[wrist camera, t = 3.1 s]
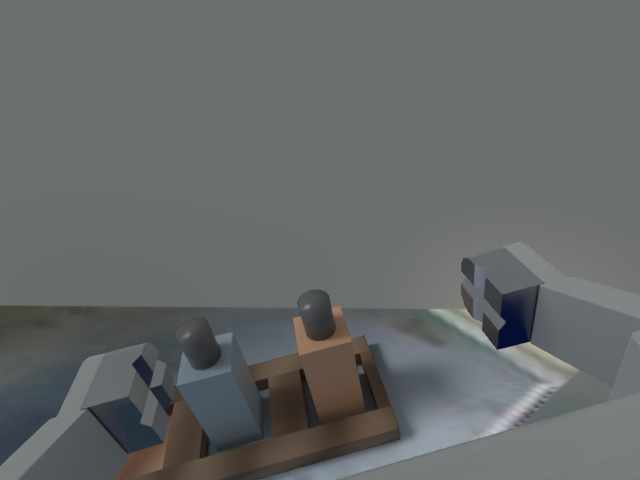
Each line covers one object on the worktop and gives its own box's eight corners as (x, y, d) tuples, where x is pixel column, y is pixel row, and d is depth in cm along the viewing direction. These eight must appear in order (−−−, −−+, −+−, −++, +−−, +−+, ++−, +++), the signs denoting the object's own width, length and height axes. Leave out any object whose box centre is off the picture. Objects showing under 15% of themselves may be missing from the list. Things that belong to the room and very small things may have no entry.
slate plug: (217, 451, 31) (158, 358, 25) (220, 409, 35) (168, 317, 28) (263, 438, 32) (217, 343, 25) (261, 398, 35) (220, 304, 29)
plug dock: (74, 531, 29) (64, 522, 28) (113, 413, 37) (106, 404, 36) (400, 438, 30) (399, 428, 29) (365, 345, 38) (364, 335, 37)
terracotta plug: (321, 424, 32) (289, 326, 26) (313, 385, 35) (284, 290, 29) (365, 412, 32) (345, 311, 26) (354, 374, 36) (333, 277, 29)
